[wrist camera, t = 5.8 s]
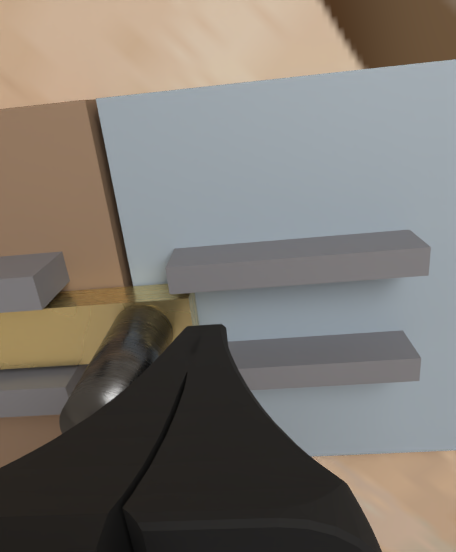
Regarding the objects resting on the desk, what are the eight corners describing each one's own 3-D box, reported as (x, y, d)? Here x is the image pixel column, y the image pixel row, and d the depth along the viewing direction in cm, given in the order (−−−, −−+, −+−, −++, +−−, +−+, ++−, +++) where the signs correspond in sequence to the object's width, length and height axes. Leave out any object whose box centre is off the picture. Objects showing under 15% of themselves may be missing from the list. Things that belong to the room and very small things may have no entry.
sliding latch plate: (509, 54, 12) (605, 40, 9) (460, 420, 17) (510, 496, 14) (-150, 127, 14) (-274, 136, 10) (-20, 443, 19) (-76, 516, 15)
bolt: (193, 281, 13) (163, 385, 9) (201, 336, 14) (177, 460, 9) (-49, 299, 14) (-203, 405, 9) (-29, 352, 15) (-162, 475, 10)
